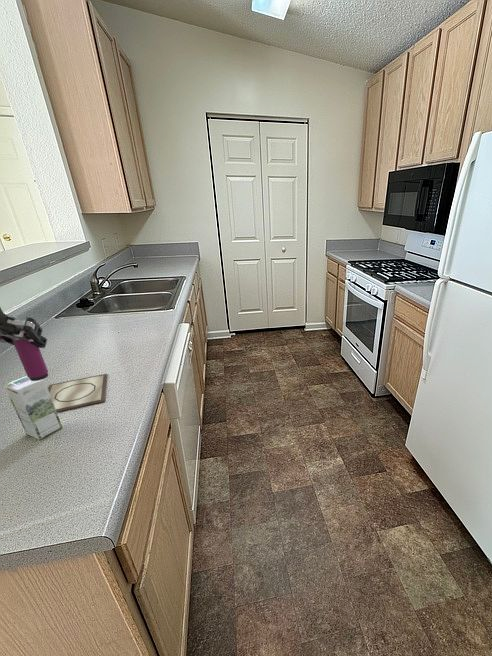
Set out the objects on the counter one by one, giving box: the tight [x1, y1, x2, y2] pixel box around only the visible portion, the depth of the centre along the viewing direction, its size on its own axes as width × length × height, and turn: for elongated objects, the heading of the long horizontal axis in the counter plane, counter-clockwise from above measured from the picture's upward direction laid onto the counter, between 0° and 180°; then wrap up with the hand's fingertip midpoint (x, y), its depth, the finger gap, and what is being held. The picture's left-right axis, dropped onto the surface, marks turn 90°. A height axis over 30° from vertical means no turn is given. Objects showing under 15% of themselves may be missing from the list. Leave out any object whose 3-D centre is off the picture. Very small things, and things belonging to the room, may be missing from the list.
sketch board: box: [47, 373, 108, 414], centre depth 99 cm, size 16×18×1 cm
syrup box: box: [3, 375, 63, 441], centre depth 80 cm, size 6×6×14 cm
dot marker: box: [12, 333, 49, 381], centre depth 69 cm, size 4×4×11 cm
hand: (33, 343), depth 70 cm, fingers closed on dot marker, 3 cm apart
